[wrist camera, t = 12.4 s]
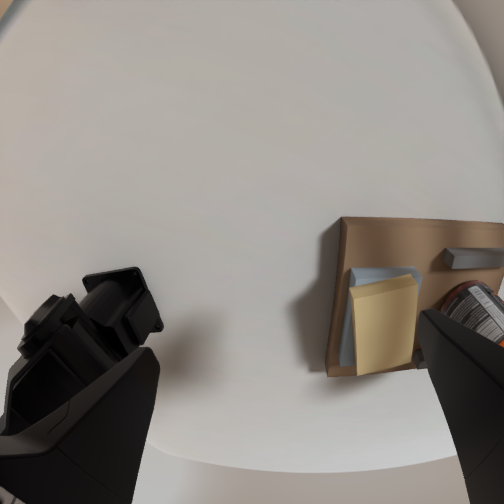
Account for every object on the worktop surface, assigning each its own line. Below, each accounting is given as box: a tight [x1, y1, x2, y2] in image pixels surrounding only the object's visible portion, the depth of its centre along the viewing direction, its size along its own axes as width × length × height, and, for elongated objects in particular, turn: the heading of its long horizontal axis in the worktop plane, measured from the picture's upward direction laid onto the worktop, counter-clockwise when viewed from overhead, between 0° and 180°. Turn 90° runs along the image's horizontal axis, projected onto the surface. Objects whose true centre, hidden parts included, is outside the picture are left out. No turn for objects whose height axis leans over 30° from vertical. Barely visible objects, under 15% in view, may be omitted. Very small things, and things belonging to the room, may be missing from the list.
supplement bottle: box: [440, 280, 504, 347], centre depth 15 cm, size 6×6×11 cm
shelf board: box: [325, 217, 504, 377], centre depth 20 cm, size 16×14×5 cm
